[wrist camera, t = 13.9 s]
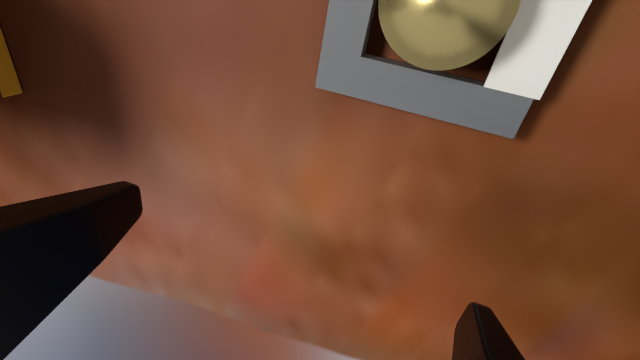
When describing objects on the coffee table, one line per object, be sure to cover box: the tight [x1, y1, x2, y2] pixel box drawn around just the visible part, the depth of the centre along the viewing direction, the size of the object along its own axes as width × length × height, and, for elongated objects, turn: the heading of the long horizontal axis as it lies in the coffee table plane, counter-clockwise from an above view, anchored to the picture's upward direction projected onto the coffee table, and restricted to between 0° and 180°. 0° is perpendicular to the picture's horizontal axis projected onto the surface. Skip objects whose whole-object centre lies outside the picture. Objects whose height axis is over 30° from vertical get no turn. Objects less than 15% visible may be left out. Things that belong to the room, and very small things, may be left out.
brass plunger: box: [378, 0, 521, 71], centre depth 14 cm, size 5×5×2 cm
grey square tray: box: [315, 0, 592, 139], centre depth 15 cm, size 10×10×1 cm
